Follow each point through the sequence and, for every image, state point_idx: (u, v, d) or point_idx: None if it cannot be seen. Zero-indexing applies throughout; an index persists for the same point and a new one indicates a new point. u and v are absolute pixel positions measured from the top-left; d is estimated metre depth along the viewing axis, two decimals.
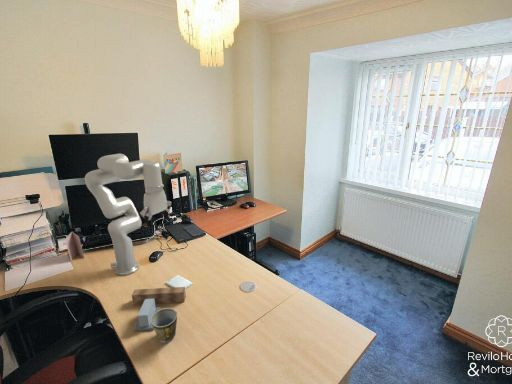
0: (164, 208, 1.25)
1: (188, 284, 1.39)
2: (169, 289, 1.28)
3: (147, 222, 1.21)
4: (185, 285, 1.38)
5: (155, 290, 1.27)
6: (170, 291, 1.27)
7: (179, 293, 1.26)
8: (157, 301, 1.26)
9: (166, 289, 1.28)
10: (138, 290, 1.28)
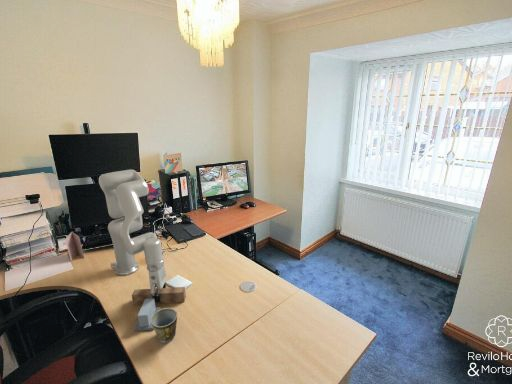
0: None
1: (188, 284, 1.39)
2: (169, 289, 1.28)
3: None
4: (185, 285, 1.38)
5: (155, 290, 1.27)
6: (170, 291, 1.27)
7: (179, 293, 1.26)
8: None
9: (166, 289, 1.28)
10: (138, 290, 1.28)
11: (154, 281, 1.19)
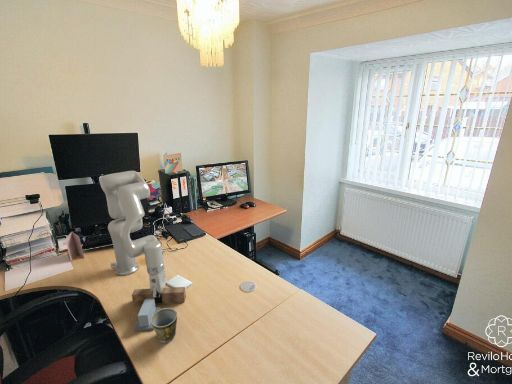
0: None
1: (188, 284, 1.39)
2: (169, 289, 1.28)
3: None
4: (185, 285, 1.38)
5: None
6: (170, 291, 1.26)
7: (179, 293, 1.26)
8: None
9: (166, 289, 1.28)
10: (138, 289, 1.27)
11: (154, 284, 1.20)
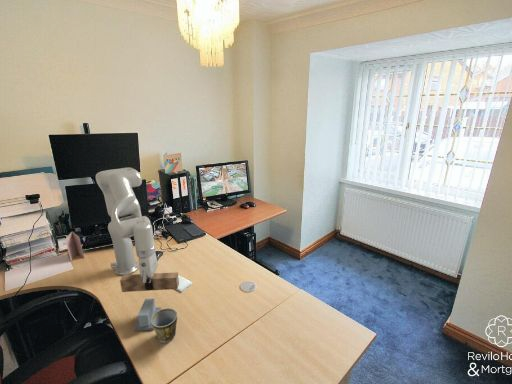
0: None
1: (188, 284, 1.39)
2: (161, 275, 1.18)
3: None
4: (185, 285, 1.38)
5: None
6: (162, 276, 1.17)
7: (172, 279, 1.17)
8: None
9: (157, 274, 1.18)
10: (127, 275, 1.18)
11: (144, 268, 1.10)
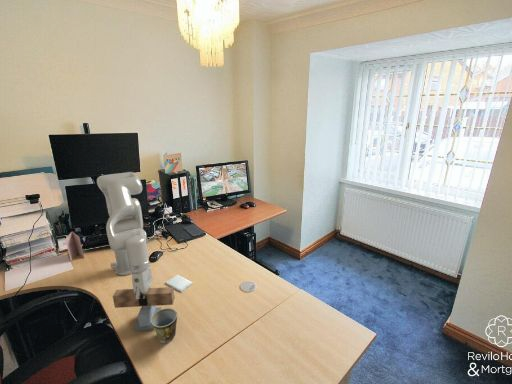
0: None
1: (188, 284, 1.39)
2: (156, 290, 1.13)
3: None
4: (185, 285, 1.38)
5: None
6: (156, 292, 1.12)
7: (167, 294, 1.11)
8: None
9: (152, 289, 1.13)
10: (120, 290, 1.13)
11: (138, 284, 1.05)
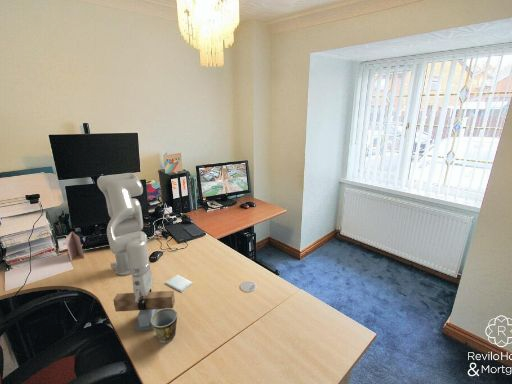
0: None
1: (188, 284, 1.39)
2: (156, 293, 1.14)
3: None
4: (185, 285, 1.38)
5: (140, 294, 1.14)
6: (157, 296, 1.13)
7: (167, 298, 1.12)
8: None
9: (152, 293, 1.14)
10: (121, 294, 1.14)
11: (138, 287, 1.06)
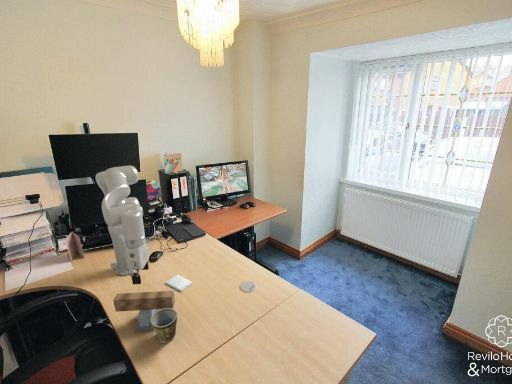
0: None
1: (188, 283, 1.39)
2: (156, 293, 1.14)
3: None
4: (185, 284, 1.38)
5: (140, 294, 1.14)
6: (157, 296, 1.13)
7: (167, 298, 1.12)
8: (142, 307, 1.13)
9: (152, 293, 1.14)
10: (121, 294, 1.14)
11: (133, 259, 1.03)
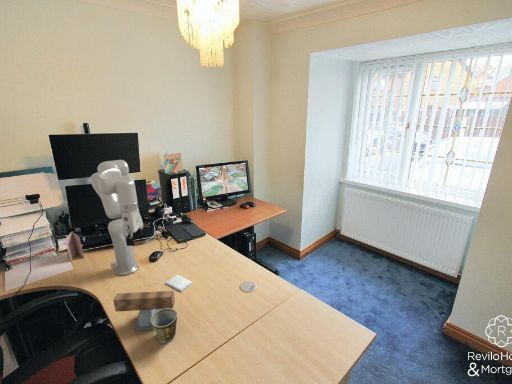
0: None
1: (188, 283, 1.39)
2: (156, 293, 1.14)
3: (138, 229, 1.29)
4: (185, 284, 1.39)
5: (140, 294, 1.14)
6: (157, 296, 1.13)
7: (167, 298, 1.12)
8: (142, 307, 1.13)
9: (152, 293, 1.14)
10: (121, 294, 1.14)
11: (127, 223, 1.16)
